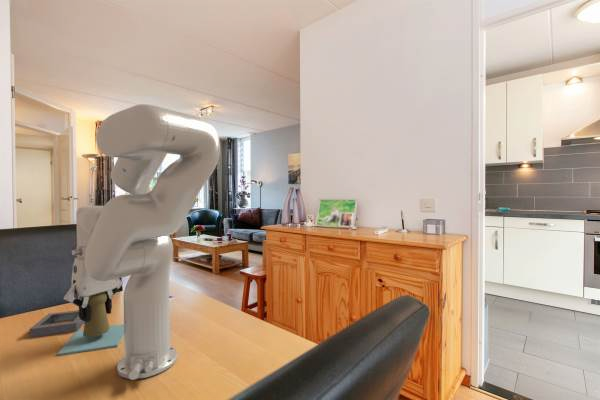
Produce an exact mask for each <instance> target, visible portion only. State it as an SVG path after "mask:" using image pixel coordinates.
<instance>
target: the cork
mask: <svg viewBox="0 0 600 400" xmlns="http://www.w3.org/2000/svg"><path fill="white" fill-rule="evenodd" d="M106 300H107V294H106V293H105V292H102V293H99V294H95V295H92V296H89V300H88V304H87V306H89V307H90V320H89V321H88V322H85V323H84V324H83V330H84V332H83V336H85V337H94V336H99V335H102V334H104V333H106V332H108V331H109V326H110V324H109V319H108V314H107V312H106V307H105V302H106Z"/></svg>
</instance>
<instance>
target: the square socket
mask: <svg viewBox="0 0 600 400" xmlns="http://www.w3.org/2000/svg"><path fill="white" fill-rule="evenodd" d="M84 324H85V321H82V320H81V319H80V318H79V309H78V310H69V311H59V312H52V313H50V312H49V313H47V314H46V315H45V316H44V317H42V318H41V319H40V320H39V321H37V322H36V323H35V324H34V325H33V326H32V327H29V339H30V338H31V339H33V338H39V337H45V336H46V337H47V336H53V335H61V334H63V335H64V334H68V333H70V334H71V333H76V332H77V331H78V330H80V329H81V327H82V326H84Z"/></svg>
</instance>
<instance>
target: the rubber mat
mask: <svg viewBox="0 0 600 400" xmlns="http://www.w3.org/2000/svg"><path fill="white" fill-rule="evenodd" d="M83 332H84V329H79V330H78V331H77V332H74V334H73V335H72V337H71V338H70V339H69V340H68V341H67V342H66V343H65V344H64V345H63V347H62V348H61V349H59V351H58V353H57V356H65V355H71V354H77V353H79V354H80V353H84V352H90V351H91V352H92V351H98V350H106V349H110V348H111V349H112V348H117V347H118V346H119V344H120V343H121V340H122V339H123V338H124V323H123V324H116V325H109V331H108V332H106V333H104V334H102V335H99V336H94V337H85V336H83Z"/></svg>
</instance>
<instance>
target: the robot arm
mask: <svg viewBox="0 0 600 400" xmlns="http://www.w3.org/2000/svg"><path fill="white" fill-rule="evenodd" d="M95 141H96V145H97V149H98V150H99V152H100V153H101V154H102V155H104V156H107V157H111V158H117V160H116V161H115V164H114V165H113V168H112V170H111V172H110V178H111V181H112V183H114V185H115V186H116V187H118V188H119V189H120V190H122V191H123V192H126V193H128V194H120V195H116V196H114V197H112V198H111V199H110V200H109V199H108V200H109V201H107V202H106V204H105V205H85V206H80V207H78V208H77V210H76V214H75V215H76V216H75V217H76V218H75V219H76V220H75V221H76V249H74V250H73V249H72V250H71V254H72V256H76V257H74V262H73V265H72V271H71V286H70V288H69V290H68V291H67V292H66V294H65V295H64V297H63V300H65V301H66V302H69V303H71V304H73V305H75V306H77V307H78V310H79V318H80V319H81V320H82V321H85V322H88V321H89V320H90V307H89V306H87V304H88V300H89V296H92V295H95V294H99V293H102V292H105V293H106V294H107V300H106V302H105V307H106V312H107V315H110V314H112V307H113V304H112V302H113V298H114V297H115V294H116V293H117V291H118V290H119V289H120V288H121V287H122V285H124V284H123V283H124V282H123V281H122V280H121V279H120V278H124V277H128V276H129V278H128V279H127V282H126V283H125V284H126V285H125V287H124V290H123V324H124V335H123V338H124V341H123V342H124V356H122V358H121V359H119V361H118V363H117V365H116V371H117V374H118V376H120V377H122V378H125V379H129V380H131V381H134V380H139V379H146V378H149V377H153V376H157V375H158V374H160V373H162V372H164V371H166V370H167V369H169V368H170V367H172V366H173V365H174V364H175V362H176V361H177V359H178V351H177V349H176V348H175V347H174V346H172V345H171V331H170V329H171V328H170V327H171V326H170V324H171V323H170V322H171V321H170V318H171V317H170V300H169V296H170V274H171V265H172V260H173V254H174V243H173V240H172V238H171V237H170V236H171V235H174V234H175V233H177V232H178V231H179V229H180V228H181V226H182V225H183V223H184V221H185V220H186V218H187V217H188V214H189V212H190V211H191V209H192V207H193V205H194V204H195V203H194V202H195V201H196V199H197V197H198V195H199V193H200V191H201V190H202V188H203V187H204V185H205V184H206V183H207V182H208V180H209V179H210V177H211V175H212V174H213V173H214V172H215V169H216V167H217V165H218V163H219V159H220V154H221V142H220V136H219V133H218V132H217V130H216V128H215V127H214V126H213V125H212V124H211V123H210V122H208V121H206V120H205V119H202V118H200V117H197V116H194V115H191V114H188V113H183V112H180V111H176V110H173V109H168V108H164V107H160V106H158V105H153V104H146V103H144V104H143V103H142V104H137V105H133V106H130V107H127V108H125V109H122V110H119V111H117V112H115V113H112V114H110V115H109V116H107V117H106V118H105V119H104V120H103V121H102V122H101V123H100V125H99V126H98V129H97V132H96V139H95ZM168 154H169V155H177V156H180V157H179V158H178V159H176V160H175V161H173V162H172V163H171V164H169V165H168V166H167V167H165V169H164V170H163V171H162V172H161V173H160V175H159V176H158V178H157V180H156V182H155V185H154V186H153V188H152V189H151V187H150V185H151V183H152V181H153V179H154V178H155V176H156V175H157V173H158V170H159V168H161V166H162V163H163V162H164V160H165V159H166V156H167V155H168ZM75 295H76V296H77V298H76V297H75Z"/></svg>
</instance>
